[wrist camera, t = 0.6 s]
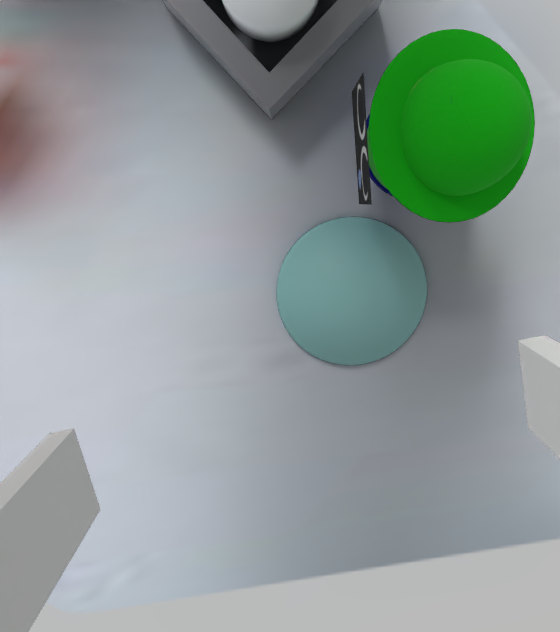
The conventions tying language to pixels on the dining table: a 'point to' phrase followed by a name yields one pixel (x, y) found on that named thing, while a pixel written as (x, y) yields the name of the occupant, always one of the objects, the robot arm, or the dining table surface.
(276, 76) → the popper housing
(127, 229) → the dining table surface
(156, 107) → the dining table surface
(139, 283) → the dining table surface
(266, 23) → the dome
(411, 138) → the toy
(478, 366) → the dining table surface
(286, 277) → the pad
